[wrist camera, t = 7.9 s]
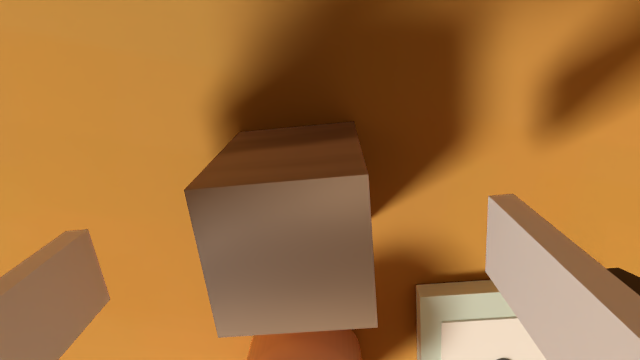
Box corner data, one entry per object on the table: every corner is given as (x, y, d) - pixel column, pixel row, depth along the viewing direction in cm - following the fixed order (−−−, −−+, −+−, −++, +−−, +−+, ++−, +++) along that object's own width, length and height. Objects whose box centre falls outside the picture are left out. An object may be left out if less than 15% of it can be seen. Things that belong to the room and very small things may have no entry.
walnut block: (239, 131, 17) (184, 190, 11) (353, 121, 17) (368, 174, 10) (257, 233, 19) (218, 337, 12) (361, 225, 19) (377, 327, 12)
